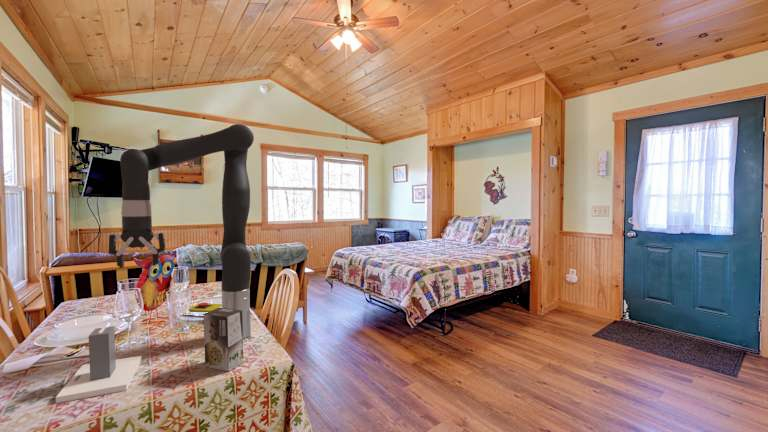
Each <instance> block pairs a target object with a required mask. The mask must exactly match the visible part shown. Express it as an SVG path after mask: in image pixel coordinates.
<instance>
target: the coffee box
mask: <svg viewBox="0 0 768 432" xmlns="http://www.w3.org/2000/svg"><path fill="white" fill-rule="evenodd" d="M203 315H204V317H203V337H204V342H203V343H204V367H205V368H209V369H215V370H219V371H225V372H230V371H232V370H233V368H234V369H235V368H237V367H239V366H240V365H242V364H243V363H244V338H243V317H242V310H235V309H227V308H217V309H214V310H212V311H210V312H208V313H205V314H203ZM241 363H242V364H241ZM238 365H239V366H238Z"/></svg>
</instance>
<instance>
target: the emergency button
mask: <svg viewBox="0 0 768 432" xmlns="http://www.w3.org/2000/svg"><path fill="white" fill-rule="evenodd" d="M221 306H222V303H208V302H199V303H195V304H194V305H192V306H190V307H189V308H190V309H189V311H190V312H210V311H212V310H214V309H217V308H219V307H221Z"/></svg>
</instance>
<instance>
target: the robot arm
mask: <svg viewBox="0 0 768 432" xmlns="http://www.w3.org/2000/svg"><path fill="white" fill-rule="evenodd" d="M254 140H255V137H254V134H253V131H252V130H251V128H250V127H248V126H247V125H244V124H241V123H236V124H231V126H228V127H226V128H224V129H221V130H219V131H216V132H215V131H214V132H212V133H208V134H203V135H200V136H195V137H190V138H183V139H178V140H174V141H168V142H164V143H159V144H157V145H155V146H153V147H148V148H145V149H144V148H143V149H137V148H131V149H127V150H125V151H124V152H123V153H122V154H121V155H120V159H119V160H120V162H119V163H120V173H121V174H120V175H121V181H122V187H121V192H122V193H121V197H122V199H121V200H122V202H121V212H120V213H121V229H122V231H121V234H116V233H112V234H110V235H109V236H108V237H109V238H108V254H109V255H114V256H116V265H117V267H119V269H124V268H125V256H124V253H125V252H126V251H127V250H128V248H131V249H134V248H146V249H148V250H149V251H151V253H152V266H153V267H155V266H157V265H158V264H159V263H160V262H159V261H160V259H159V258H160V256H159V255H160V253H162V252H164V251H165V250H166V243H165V242H166V241H165V233H164V232H162V231H161V232H158V233H157V232H156V233H154V232H153V226H152V224H153V222H152V221H153V220H152V218H153V217H152V204H151V190H150V189H151V188H150V184H149V172H150V171H153V170H156V169H159V168H162V167H167V166H172V165H177V164H181V163H186V162H189V161H194V160H195V159H199V158H201V157H204V156H208V155H211V154H212V155H213V154H215V153H219V152H223V154H224V155H223V156H224V157H223V158H224V169H223V179H222V191H221V206H222V207H221V208H222V209H221V210H222V223H223V235H222V243H221V251H220V257H219V258H220V260H221V261H220V262H221V304H222V308H227V309H235V310H242V317H243V339H245V338H250V337H251V335H252V333H251V332H252V331H251V329H252V328H251V306H250V305H251V304H250V303H251V301H250V300H251V299H250V297H251V296H250V295H251V294H250V293H251V291H250V287H251V286H250V285H251V283H250V282H251V272H252V271H251V266H252V265H251V264H252V263H251V261H252V260H251V254H250V251H249V250H248V249H247V243H246V226H247V222H248V218H249V213H250V209H251V208H250V207H251V187H250V179H249V175H248V171H247V162H248V161H247V160H248V150H249V148H251V147H252V145H253V143H254ZM153 238H155V239H156V240H157V241H158V244H159V245H158V248H157V247H156V246H155V244H154V243H153V242H152V240H153ZM119 239H121V240H122V242H123V245H122V246H121V247H120V248H119V249H118V250H116V249H117V242H118V241H119Z"/></svg>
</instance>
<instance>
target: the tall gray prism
mask: <svg viewBox="0 0 768 432" xmlns="http://www.w3.org/2000/svg"><path fill="white" fill-rule="evenodd" d="M88 351H89V353H88V355H89V364H90V381H91V380H97V379H103V378H109V377H111V375H112V373H113V372H114V370H115V368H116V361H115V360H116V335H115V326H103V327H100V328H98V327H97V328H94V329H93V331H92V332H91V333H90V334H89V335H88Z"/></svg>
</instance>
